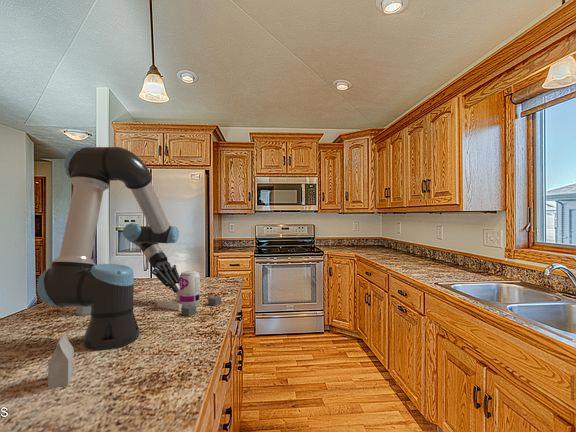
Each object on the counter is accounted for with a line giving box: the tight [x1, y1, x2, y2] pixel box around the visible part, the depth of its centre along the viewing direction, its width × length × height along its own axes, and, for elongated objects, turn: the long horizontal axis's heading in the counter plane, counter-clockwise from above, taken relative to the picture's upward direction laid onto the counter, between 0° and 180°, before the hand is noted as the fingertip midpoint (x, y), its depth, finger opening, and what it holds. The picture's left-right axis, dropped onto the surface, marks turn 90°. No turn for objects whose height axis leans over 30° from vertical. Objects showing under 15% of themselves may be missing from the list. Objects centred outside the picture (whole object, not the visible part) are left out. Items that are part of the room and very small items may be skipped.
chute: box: [156, 294, 222, 317], centre depth 134 cm, size 20×22×3 cm
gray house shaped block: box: [47, 333, 75, 391], centre depth 73 cm, size 4×7×10 cm, turn 26°
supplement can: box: [179, 270, 201, 308], centre depth 133 cm, size 8×8×15 cm
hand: (182, 296), depth 137 cm, fingers closed
